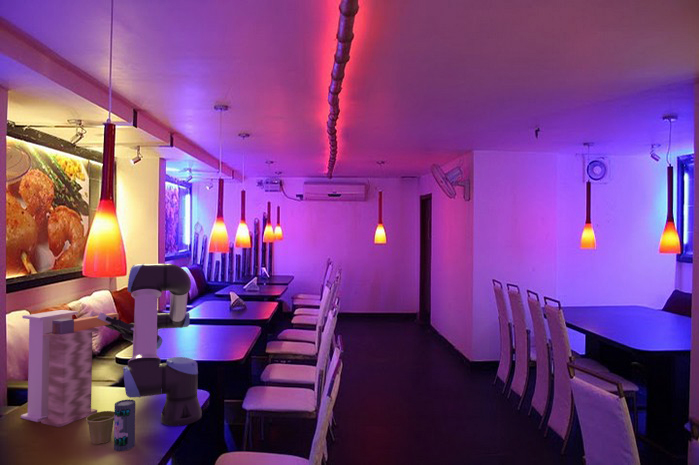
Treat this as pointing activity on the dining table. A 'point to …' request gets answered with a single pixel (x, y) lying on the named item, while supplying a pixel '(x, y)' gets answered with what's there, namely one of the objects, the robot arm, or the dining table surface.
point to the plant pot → (100, 426)
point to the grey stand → (40, 362)
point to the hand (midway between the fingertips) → (95, 315)
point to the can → (124, 425)
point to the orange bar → (78, 324)
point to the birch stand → (69, 377)
